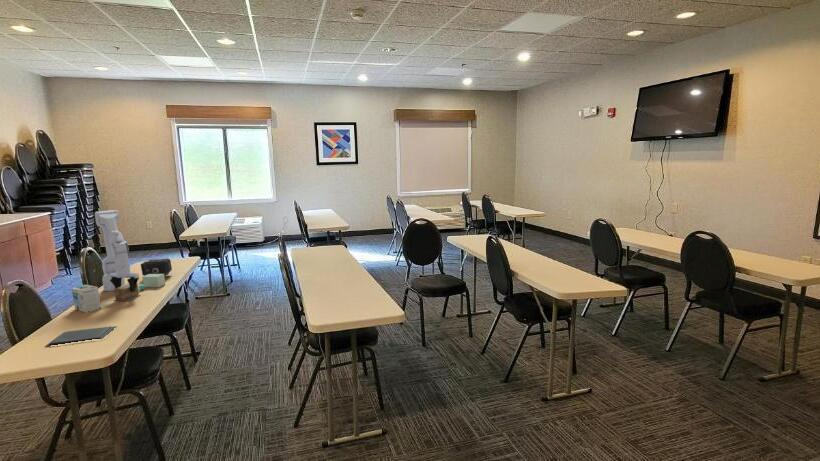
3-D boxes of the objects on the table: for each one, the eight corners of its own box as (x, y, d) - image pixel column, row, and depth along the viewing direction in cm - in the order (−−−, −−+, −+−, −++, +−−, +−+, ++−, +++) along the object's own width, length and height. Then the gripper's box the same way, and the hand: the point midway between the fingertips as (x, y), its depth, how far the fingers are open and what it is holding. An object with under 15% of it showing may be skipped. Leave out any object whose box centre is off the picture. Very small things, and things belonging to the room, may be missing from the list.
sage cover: (159, 287, 229) (157, 276, 228) (143, 287, 230) (142, 276, 229) (165, 284, 234) (164, 273, 233) (150, 284, 235) (149, 273, 234)
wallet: (41, 345, 156) (63, 329, 170) (42, 349, 156) (64, 333, 171) (102, 338, 161) (118, 323, 175) (102, 342, 161) (119, 327, 176)
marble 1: (131, 293, 219) (131, 288, 218) (136, 291, 222) (135, 286, 221) (137, 293, 219) (136, 288, 218) (141, 291, 222) (140, 286, 221)
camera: (173, 275, 255) (145, 275, 251) (172, 257, 254) (145, 257, 249) (168, 280, 245) (139, 280, 241) (168, 261, 244) (139, 261, 239)
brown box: (115, 300, 207) (114, 288, 206) (129, 294, 216) (127, 283, 215) (125, 300, 207) (124, 288, 206) (138, 294, 216) (137, 283, 215)
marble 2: (137, 290, 223) (136, 285, 222) (141, 289, 226) (140, 283, 225) (142, 290, 223) (141, 285, 222) (146, 289, 226) (145, 283, 225)
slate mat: (114, 300, 208) (114, 300, 208) (126, 295, 216) (126, 294, 216) (128, 300, 207) (128, 300, 207) (140, 295, 215) (140, 294, 215)
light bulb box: (74, 309, 197) (70, 288, 195) (90, 304, 203) (86, 284, 201) (86, 313, 192) (82, 291, 190) (102, 308, 198) (98, 286, 196)
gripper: (102, 267, 205) (106, 293, 207) (130, 267, 204) (133, 293, 206) (113, 264, 212) (117, 289, 214) (140, 264, 211) (143, 289, 213)
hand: (126, 291), depth 211 cm, fingers open, 7 cm apart
